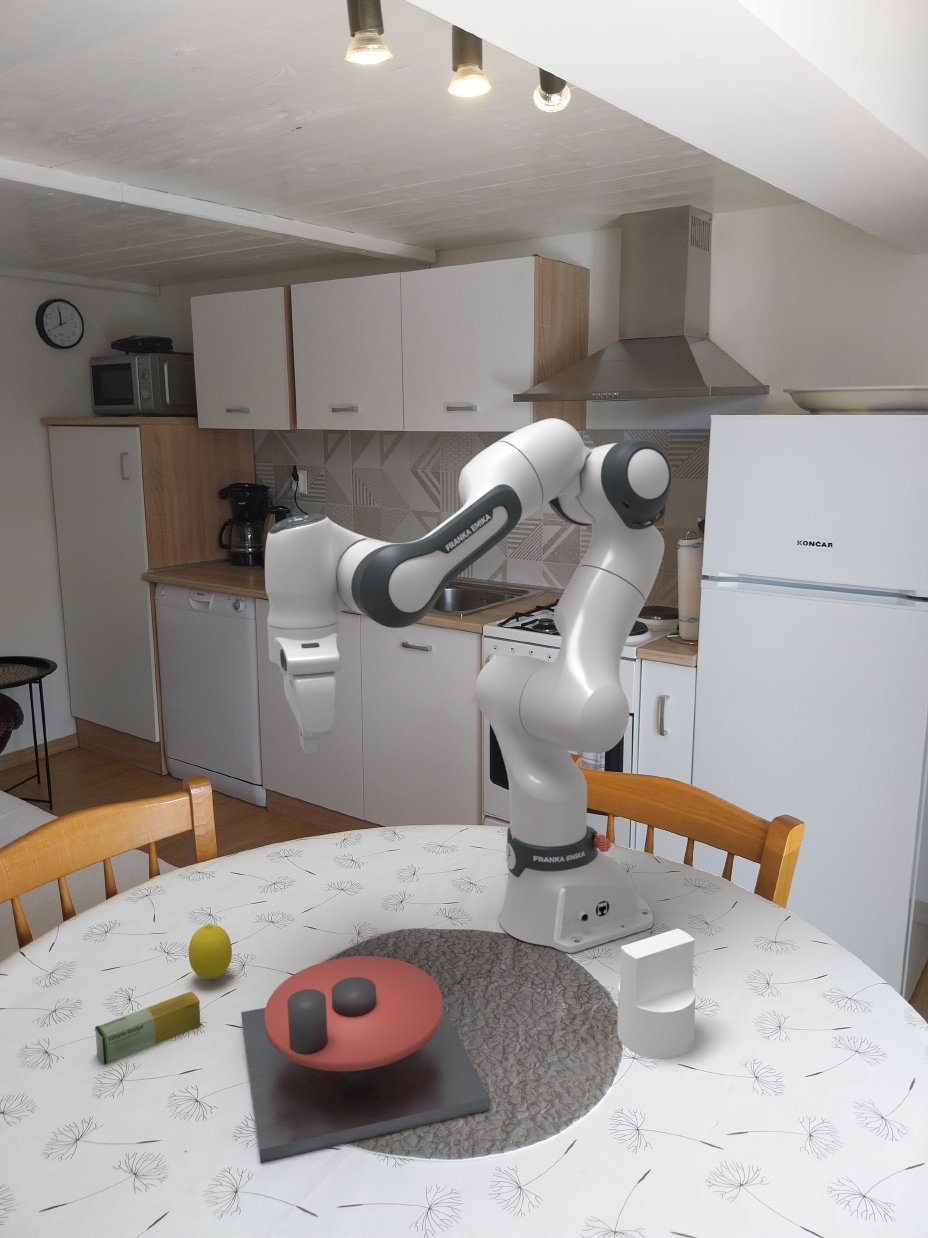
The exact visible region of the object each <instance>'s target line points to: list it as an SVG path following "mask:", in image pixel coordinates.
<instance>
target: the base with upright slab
mask: <svg viewBox="0 0 928 1238" xmlns="http://www.w3.org/2000/svg"><path fill="white" fill-rule="evenodd" d="M694 958H695V939H694V938H693V937H692V936H691V935H690V934H689V933H688V932H686V931H684V930H682V929H680V928H675V929H672V930H670V931H665V932H662V933H660V934H656V935H653V936H650V937H649V936H648V937H646V938H644V939H643V938H642V939H641V940H636V941H634V942H630V943H628V944H624V945H622V946H620V968H619V969H620V973H619V974H620V976H619V977H620V978H619V979H620V980H619V982H618V984H617V985H618V987H617V989H618V990H617V1029H616V1030H617V1032H616V1033H617V1035H616V1036H618V1040H619V1041H620V1043H621V1044H622V1045H623V1046H624V1047H625V1048H627V1049H628V1050H629V1051H631V1052H632V1053H634V1054H637V1055H638V1056H642V1057H643V1058H648V1059H654V1060H656V1059H657V1060H665V1059H666V1060H667V1059H669V1060H670V1059H674V1058H679V1057H681V1056H683V1055H684V1054H686V1053H688V1052H689V1051H690V1050H691V1048H693V1045H694V1043H695V1019H696V1018H695V1017H696V1016H695V1015H696V990H695V988H694V985H693V984H694V964H695V963H694V960H695V959H694Z"/></svg>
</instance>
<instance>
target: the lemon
mask: <svg viewBox="0 0 928 1238" xmlns="http://www.w3.org/2000/svg"><path fill="white" fill-rule="evenodd" d="M232 957H233V948H232V942H231V939H230V937H229V935H228V932H227V931H226V929H224V928H222V927H221V926H220V925H217V924H211V923H207V924H206V925H204V926H201V927H199V929H197V930H196V931H195V932H194V934H193V935H192V936H191V939H190V942H189V946H188V959H189V960H188V961H189V965H190V967H191V969H192V971H193V972H194V974H195V975H197V976H199V977H200V978H202V979H205V980H206V979H207V980H210V981H214V980H215V979H216V978H218V977H220V976H221V975H223V974H224V973H225V972H226V971H227V970H228V968H229V967H230V964H231V961H232V959H233V958H232Z"/></svg>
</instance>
